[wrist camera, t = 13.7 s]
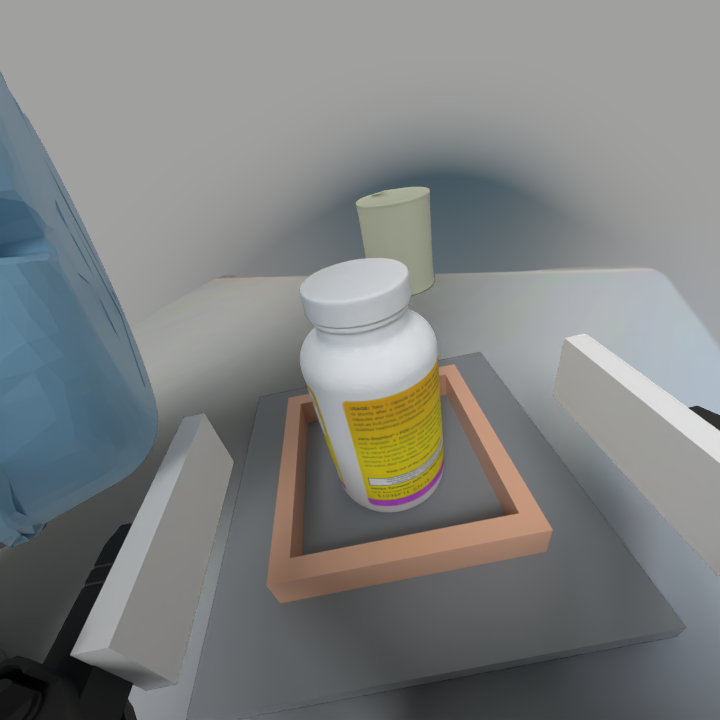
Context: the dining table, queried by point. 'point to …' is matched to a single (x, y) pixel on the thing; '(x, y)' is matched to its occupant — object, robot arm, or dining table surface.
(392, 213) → the can
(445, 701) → the dining table surface
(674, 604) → the dining table surface
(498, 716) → the dining table surface
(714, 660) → the dining table surface
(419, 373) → the supplement bottle
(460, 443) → the mat
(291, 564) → the collar
